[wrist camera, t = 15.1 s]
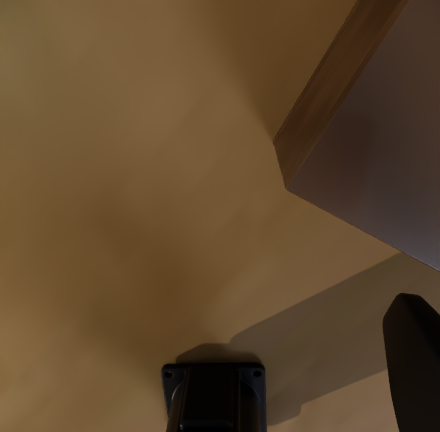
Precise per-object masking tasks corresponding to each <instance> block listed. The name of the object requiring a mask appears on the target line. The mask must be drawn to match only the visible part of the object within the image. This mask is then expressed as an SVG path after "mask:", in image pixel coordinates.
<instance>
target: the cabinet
mask: <svg viewBox="0 0 440 432" xmlns="http://www.w3.org/2000/svg"><path fill="white" fill-rule="evenodd" d="M273 145H274V147H275V151H276V155H277V158H278V162H279V166H280V170H281V173H282V177H283V181H284V185H285V189H286V190H287V191H289V192H291V193H293V194H295V195H297V196H299V197H301V198H302V199H304V200H306V201H308V202H310V203H312V204H314V205H316V206H317V207H319V208H321V209H323V210H325V211H327V212H329V213H330V214H332V215H334V216H336V217H338V218H340V219H342V220H344V221H345V222H347V223H349V224H351V225H353V226H355V227H357V228H358V229H360V230H362V231H364V232H366V233H368V234H370V235H372V236H373V237H375V238H377V239H379V240H381V241H383V242H385V243H387V244H388V245H390V246H392V247H394V248H396V249H398V250H400V251H401V252H403V253H405V254H407V255H409V256H411V257H413V258H415V259H416V260H418V261H420V262H422V263H424V264H426V265H428V266H429V267H431V268H433V269H435V270H437V271H439V272H440V0H358V1H357V2H356V4H355V6H354V7H353V9H352V11H351V12H350V14H349V16H348V17H347V19H346V21H345V22H344V24H343V26H342V27H341V29H340V31H339V32H338V34H337V35H336V37H335V39H334V40H333V42H332V44H331V45H330V47H329V49H328V50H327V52H326V54H325V55H324V57H323V59H322V60H321V62H320V64H319V65H318V67H317V69H316V70H315V72H314V74H313V75H312V77H311V79H310V80H309V82H308V83H307V85H306V87H305V88H304V90H303V92H302V93H301V95H300V97H299V98H298V100H297V102H296V103H295V105H294V107H293V108H292V110H291V112H290V113H289V115H288V117H287V118H286V120H285V122H284V123H283V125H282V127H281V128H280V130H279V131H278V133H277V135H276V136H275V138H274V140H273Z"/></svg>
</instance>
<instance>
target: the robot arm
mask: <svg viewBox="0 0 440 432" xmlns="http://www.w3.org/2000/svg"><path fill="white" fill-rule="evenodd" d="M383 335H384V343H385V351H386V359H387V367H388V376H389V384H390V391H391V397H392V402H393V406H394V411H395V415H396V419H397V424H398V428H399V432H440V315H439V314H438V313H437V312H436V311H435V310H434V309H433V308H432V307H431V306H430V305H429V304H428V303H427V302H426V301H425V300H424V299H423V298H422V297H421V296H419V295H415V294H406V293H400V294H398V295H397V296H396V297H395V299H394V300H393V302H392V304H391V305H390V307H389V309H388V310H387V312H386V314H385V315H384V318H383ZM255 371H259V372H255ZM169 372H171V373H169ZM161 378H162V384H163V390H164V395H165V401H166V407H167V413H168V418H169V419H168V424H167V429H166V432H267V424H266V389H265V368H264V366H263V365H262V364H260V363H195V364H165V365H164V366H163V367H162V371H161Z"/></svg>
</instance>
